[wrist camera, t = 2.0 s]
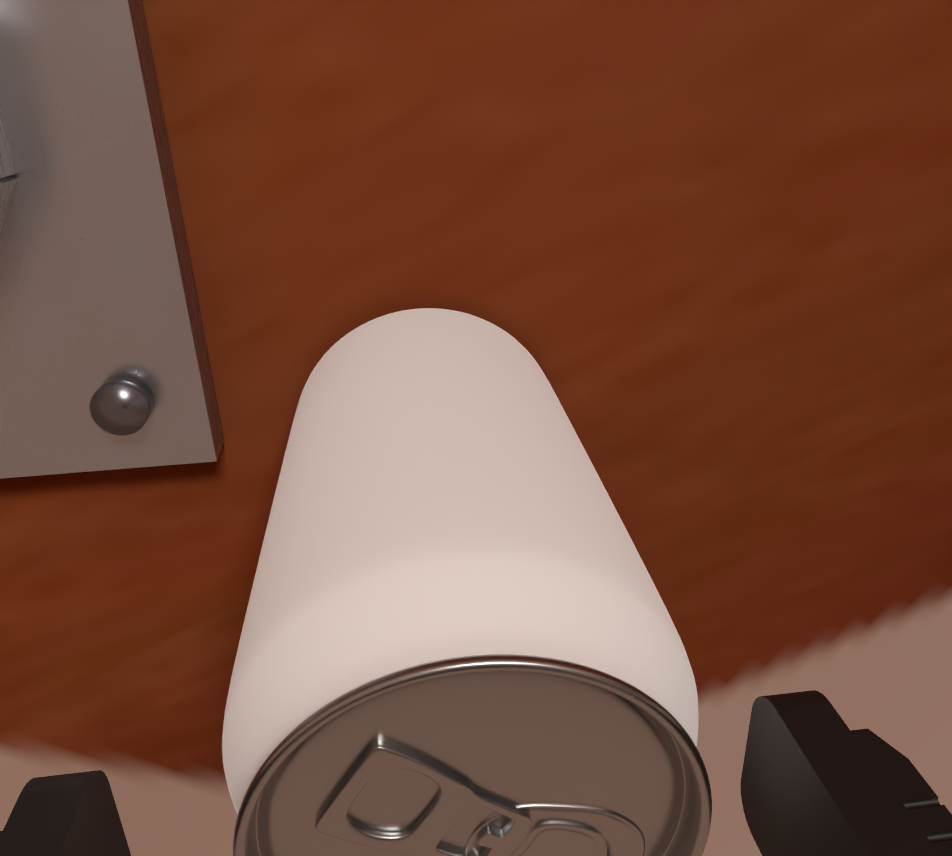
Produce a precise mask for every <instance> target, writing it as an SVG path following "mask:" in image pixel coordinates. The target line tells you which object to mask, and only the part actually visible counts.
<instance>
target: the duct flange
mask: <svg viewBox="0 0 952 856" xmlns="http://www.w3.org/2000/svg"><path fill="white" fill-rule="evenodd" d="M223 445H224V438H223V433H222V428H221V422H220V417H219V412H218V406H217V401H216V396H215V390H214V385H213V380H212V374H211V369H210V363H209V358H208V353H207V347H206V342H205V337H204V331H203V326H202V321H201V315H200V310H199V305H198V299H197V294H196V289H195V283H194V278H193V272H192V267H191V262H190V256H189V251H188V246H187V240H186V235H185V230H184V224H183V219H182V214H181V208H180V203H179V198H178V192H177V187H176V181H175V176H174V171H173V165H172V160H171V155H170V149H169V144H168V139H167V133H166V128H165V123H164V117H163V112H162V107H161V101H160V96H159V90H158V85H157V80H156V74H155V69H154V64H153V58H152V53H151V48H150V42H149V37H148V32H147V26H146V21H145V15H144V10H143V5H142V0H0V478H13V477H26V476H38V475H51V474H64V473H76V472H89V471H102V470H114V469H127V468H140V467H152V466H165V465H177V464H190V463H203V462H215V461H217V460H218V457H219V455H220V452H221V450H222V448H223Z"/></svg>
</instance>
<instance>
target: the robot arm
mask: <svg viewBox="0 0 952 856" xmlns="http://www.w3.org/2000/svg"><path fill="white" fill-rule="evenodd" d="M741 797H742V804H743V809H744V813H745V817H746V820H747V823H748V826H749V829H750V831H751V833H752V836H753V838H754V840H755V842H756V844H757V846H758V848H759V850H760V852H761V854H762V856H952V814H951V813H950V812H949V811H948V809H947V808H946V807H945V806H944V805H940V803H939V801H938V796H937V795H936V794H935V793H934V792H933V790H932V789H931V787H930V786H929V785H928V784H927V782H926V781H925V780H924V778H923V777H922V776H921V775H920V773H919V772H918V771H917V769H916V768H915V767H914V766H913V764H912V763H911V762H910V760H909V759H908V758H906V757H905V756H904V755H902V754H901V753H900V752H898V751H897V750H896V749H894V748H893V747H891V746H890V745H889V744H887V743H886V742H885V741H884V740H882V739H881V738H880V737H878V736H877V735H876V734H874V733H873V732H871V731H870V730H869V729H861V730H852V731H850V730H849V728H848V727H847V725H846V724H845V723H844V721H843V720H842V719H841V717H840V716H839V714H838V713H837V712H836V710H835V709H834V708H833V706H832V705H831V703H830V702H829V701H828V699H827V698H826V697H825V696H824V695H823V694H821V693H820V692H818V691H815V690H814V691H805V692H796V693H788V694H779V695H771V696H761V697H758V698H757V699H756V700H755V701H754V703H753V707H752V712H751V718H750V725H749V732H748V739H747V745H746V751H745V758H744V765H743V771H742V778H741ZM0 856H131V855H130V851H129V847H128V844H127V841H126V837H125V834H124V831H123V827H122V824H121V821H120V817H119V814H118V811H117V808H116V804H115V801H114V798H113V794H112V791H111V788H110V784H109V781H108V779H107V777H106V775H105V773H104V772H103V771H100V770H99V771H90V772H82V773H73V774H64V775H55V776H48V777H38V778H33V779H31V780H30V781H29V782H28V783H27V784H26V785H25V787H24V788H23V790H22V792H21V794H20V796H19V798H18V800H17V802H16V804H15V806H14V808H13V810H12V813H11V815H10V817H9V819H8V821H7V824H6V825H5V828H4V830H3V831H0Z"/></svg>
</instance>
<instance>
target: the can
mask: <svg viewBox="0 0 952 856" xmlns="http://www.w3.org/2000/svg"><path fill="white" fill-rule="evenodd" d="M697 737H698V698H697V690H696V684H695V679H694V675H693V672H692V669H691V666H690V663H689V660H688V657H687V654H686V651H685V648H684V646H683V643H682V641H681V639H680V637H679V635H678V632H677V630H676V628H675V626H674V624H673V622H672V620H671V617H670V615H669V613H668V611H667V609H666V607H665V605H664V603H663V601H662V599H661V597H660V595H659V593H658V591H657V589H656V587H655V585H654V583H653V581H652V579H651V577H650V575H649V573H648V571H647V569H646V567H645V565H644V563H643V561H642V559H641V558H640V556H639V554H638V552H637V550H636V548H635V546H634V544H633V542H632V540H631V538H630V536H629V534H628V532H627V530H626V528H625V526H624V524H623V522H622V520H621V519H620V517H619V515H618V513H617V511H616V509H615V507H614V505H613V503H612V501H611V499H610V497H609V495H608V493H607V492H606V490H605V488H604V486H603V484H602V482H601V480H600V478H599V476H598V474H597V472H596V470H595V468H594V466H593V465H592V463H591V461H590V459H589V457H588V455H587V453H586V451H585V449H584V447H583V445H582V443H581V442H580V440H579V438H578V436H577V434H576V432H575V430H574V428H573V426H572V424H571V422H570V421H569V419H568V417H567V415H566V413H565V411H564V409H563V407H562V405H561V404H560V402H559V400H558V398H557V396H556V394H555V392H554V391H553V389H552V387H551V385H550V383H549V381H548V380H547V378H546V376H545V375H544V373H543V371H542V370H541V368H540V366H539V365H538V363H537V362H536V361H535V359H534V358H533V357H532V356H531V354H530V353H529V352H528V351H527V350H526V349H525V348H524V347H523V346H522V345H521V344H520V343H519V342H518V341H517V340H516V339H515V338H514V337H512V336H511V335H510V334H508V333H507V332H506V331H504V330H502V329H501V328H499V327H498V326H496V325H494V324H492V323H490V322H488V321H486V320H484V319H481V318H479V317H476V316H473V315H470V314H467V313H463V312H459V311H454V310H447V309H437V308H421V309H410V310H404V311H399V312H394V313H391V314H387V315H384V316H381V317H378V318H376V319H373V320H371V321H369V322H367V323H365V324H363V325H361V326H359V327H357V328H356V329H354V330H352V331H351V332H349V333H348V334H346V335H345V336H344V337H343V338H341V339H340V340H339V341H338V342H336V343H335V344H334V345H333V346H332V347H331V348H330V349H329V350H328V351H327V352H326V353H325V355H324V356H323V357H322V358H321V359H320V361H319V362H318V363H317V365H316V366H315V368H314V369H313V371H312V373H311V374H310V376H309V378H308V380H307V382H306V384H305V386H304V389H303V391H302V394H301V397H300V400H299V403H298V406H297V409H296V413H295V417H294V420H293V424H292V428H291V432H290V436H289V440H288V444H287V448H286V452H285V456H284V459H283V464H282V468H281V472H280V476H279V480H278V484H277V488H276V492H275V496H274V500H273V504H272V508H271V512H270V516H269V520H268V525H267V529H266V533H265V537H264V541H263V545H262V549H261V553H260V557H259V562H258V566H257V570H256V574H255V578H254V582H253V587H252V591H251V595H250V599H249V603H248V608H247V612H246V616H245V620H244V624H243V628H242V633H241V637H240V642H239V646H238V650H237V655H236V659H235V663H234V668H233V672H232V677H231V682H230V687H229V692H228V697H227V702H226V708H225V715H224V725H223V736H222V757H223V766H224V772H225V777H226V781H227V786H228V790H229V793H230V796H231V799H232V802H233V805H234V808H235V811H236V813H237V816H238V817H237V821H236V826H235V831H234V841H233V856H702V854H703V852H704V849H705V845H706V842H707V839H708V835H709V830H710V824H711V814H712V798H711V789H710V784H709V779H708V775H707V771H706V768H705V765H704V763H703V760H702V758H701V756H700V753H699V751H698V749H697V748H696V747H697Z"/></svg>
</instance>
